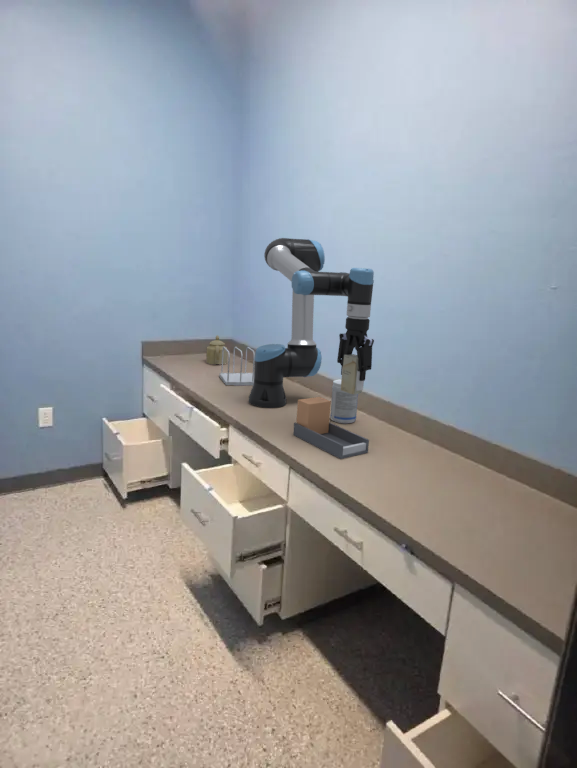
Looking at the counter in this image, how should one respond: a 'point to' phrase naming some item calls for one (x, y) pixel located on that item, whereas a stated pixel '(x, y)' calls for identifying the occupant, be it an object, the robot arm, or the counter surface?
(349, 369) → the skincare box
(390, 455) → the counter surface
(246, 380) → the file sorter
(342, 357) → the robot arm
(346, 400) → the supplement tub
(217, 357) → the sugar bowl
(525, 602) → the counter surface
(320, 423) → the block
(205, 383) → the counter surface
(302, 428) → the tray
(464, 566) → the counter surface
